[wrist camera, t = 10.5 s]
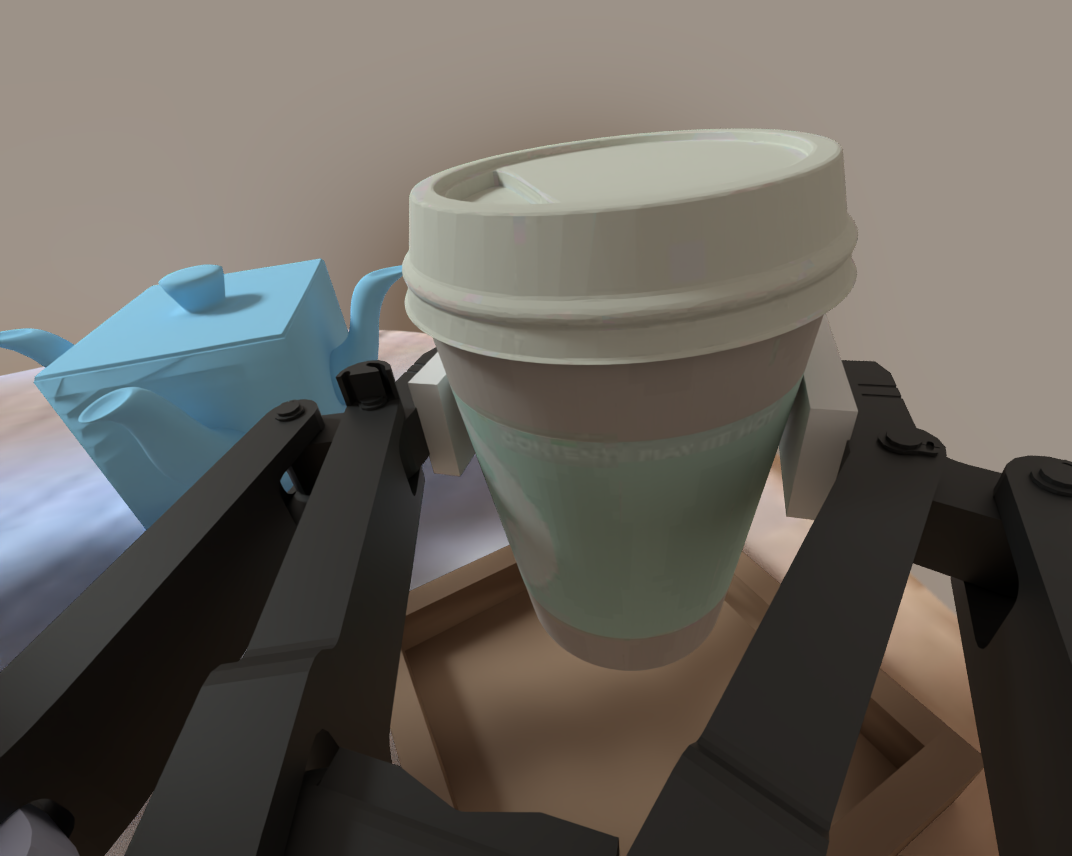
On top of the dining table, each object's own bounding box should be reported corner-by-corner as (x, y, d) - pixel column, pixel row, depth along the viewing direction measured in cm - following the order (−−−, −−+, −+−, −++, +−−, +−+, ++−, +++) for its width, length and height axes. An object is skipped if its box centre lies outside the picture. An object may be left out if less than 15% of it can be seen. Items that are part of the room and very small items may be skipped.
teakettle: (313, 385, 49) (246, 222, 40) (464, 433, 39) (417, 234, 31) (91, 512, 36) (-72, 316, 28) (234, 627, 27) (53, 383, 19)
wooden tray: (377, 652, 25) (359, 614, 23) (653, 516, 30) (654, 477, 28) (535, 1194, 12) (520, 1198, 11) (954, 800, 18) (989, 761, 16)
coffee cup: (538, 479, 21) (489, 144, 14) (768, 510, 18) (846, 111, 11) (440, 677, 14) (263, 231, 8) (776, 774, 12) (969, 206, 5)
